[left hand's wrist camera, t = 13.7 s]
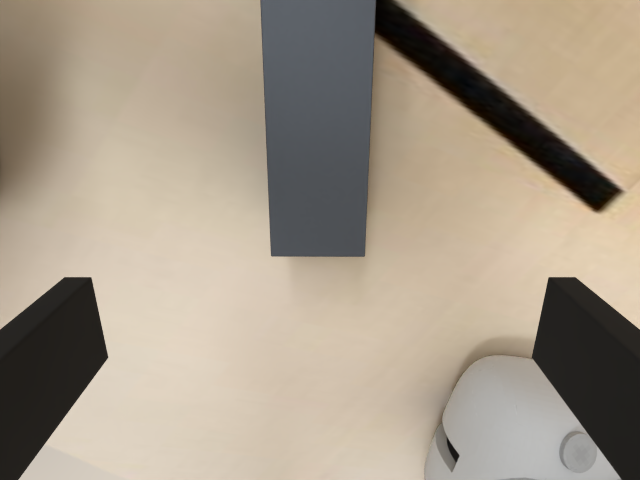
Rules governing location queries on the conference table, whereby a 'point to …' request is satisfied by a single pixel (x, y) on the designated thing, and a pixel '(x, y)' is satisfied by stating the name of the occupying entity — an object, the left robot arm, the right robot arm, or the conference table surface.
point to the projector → (511, 429)
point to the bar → (318, 123)
